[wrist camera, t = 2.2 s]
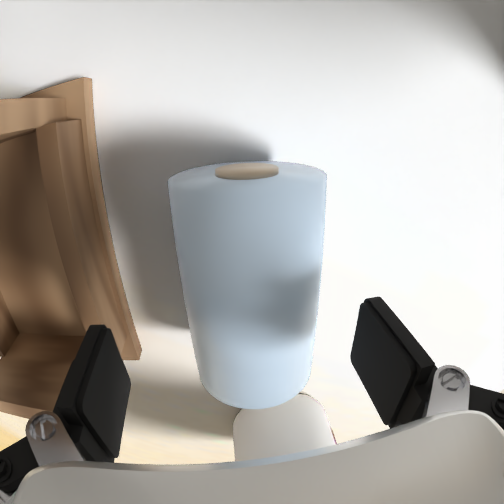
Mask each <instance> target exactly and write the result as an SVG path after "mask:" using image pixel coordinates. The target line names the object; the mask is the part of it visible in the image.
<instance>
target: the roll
mask: <svg viewBox="0 0 504 504" xmlns="http://www.w3.org/2000/svg"><path fill="white" fill-rule="evenodd" d="M326 181H327V174H326V173H325V172H324V171H322V170H320V169H318V168H315V167H312V166H308V165H303V164H297V163H289V162H277V161H246V162H229V163H219V164H212V165H206V166H201V167H196V168H192V169H189V170H185V171H182V172H180V173H177V174H175V175H173V176H172V177H170V178H169V179H168V189H169V198H170V206H171V215H172V222H173V230H174V237H175V244H176V251H177V258H178V264H179V271H180V277H181V283H182V289H183V295H184V301H185V306H186V312H187V317H188V322H189V328H190V333H191V338H192V343H193V348H194V353H195V357H196V362H197V367H198V371H199V376H200V380H201V382H202V384H203V386H204V387H205V389H206V390H207V391H208V392H209V393H210V394H211V395H212V396H213V397H214V398H216V399H217V400H219V401H221V402H223V403H225V404H227V405H230V406H233V407H237V408H242V409H264V408H270V407H274V406H277V405H280V404H282V403H285V402H287V401H288V400H290V399H292V398H293V397H295V396H296V395H297V394H298V393H299V392H300V391H301V390H302V389H303V388H304V387H305V385H306V384H307V382H308V380H309V377H310V373H311V365H312V358H313V350H314V342H315V333H316V324H317V315H318V305H319V294H320V283H321V271H322V258H323V243H324V227H325V207H326Z"/></svg>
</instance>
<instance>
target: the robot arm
mask: <svg viewBox="0 0 504 504" xmlns="http://www.w3.org/2000/svg"><path fill="white" fill-rule="evenodd" d="M351 362H352V364H353V366H354V368H355V370H356V372H357V374H358V375H359V377H360V379H361V381H362V383H363V385H364V387H365V389H366V390H367V392H368V394H369V396H370V398H371V400H372V402H373V404H374V406H375V408H376V409H377V411H378V413H379V415H380V417H381V419H382V421H383V423H384V424H385V425H389V427H390V429H388V430H385V431H382V432H378V433H375V434H372V435H368V436H365V437H362V438H358V439H355V440H351V441H347V442H343V443H339V444H335V445H331V446H327V447H322V448H318V449H313V450H308V451H303V452H298V453H293V454H287V455H281V456H275V457H268V458H261V459H253V460H245V461H235V462H223V463H209V464H185V465H153V464H125V463H114V458H117V457H118V456H119V451H120V444H121V438H122V431H123V425H124V419H125V414H126V408H127V403H128V398H129V392H130V387H131V382H130V378H129V375H128V373H127V370H126V368H125V365H124V363H123V360H122V358H121V355H120V352H119V350H118V347H117V344H116V342H115V339H114V336H113V333H112V331H111V329H110V328H107V327H106V325H104V324H100V325H90V326H89V328H88V330H87V332H86V334H85V337H84V339H83V341H82V343H81V346H80V348H79V350H78V352H77V355H76V357H75V359H74V360H73V361H72V363H71V365H70V368H69V370H68V373H67V375H66V378H65V380H64V383H63V385H62V388H61V390H60V393H59V396H58V398H57V401H56V404H55V406H54V409H53V412H50V411H41V412H38V413H36V414H35V415H33V416H32V417H31V418H30V419H29V420H28V423H27V425H26V430H25V431H26V437H24V438H23V439H21V440H19V441H18V442H16V443H14V444H12V445H11V446H9V447H7V448H6V449H4V450H2V451H0V504H504V394H502V393H498V392H494V391H491V390H487V389H483V388H480V387H476V386H473V385H470V380H469V377H468V375H467V374H466V373H465V371H464V370H462V369H461V368H459V367H456V366H452V365H446V366H442V367H440V368H437V367H436V366H435V363H434V362H433V360H432V359H431V358H430V357H429V355H428V354H427V353H426V352H425V350H424V349H423V348H422V346H421V345H420V344H419V343H418V342H417V340H416V339H415V338H414V337H413V335H412V334H411V333H410V332H409V330H408V329H407V328H406V327H405V326H404V324H403V323H402V322H401V321H400V320H399V318H398V317H397V316H396V315H395V314H394V312H393V311H392V310H391V309H390V308H389V306H388V305H387V304H386V303H385V302H384V301H383V299H382V298H381V297H374V298H368V299H365V301H364V303H362V304H361V305H360V309H359V315H358V321H357V326H356V331H355V336H354V341H353V346H352V351H351Z"/></svg>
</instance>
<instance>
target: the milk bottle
mask: <svg viewBox="0 0 504 504" xmlns="http://www.w3.org/2000/svg"><path fill="white" fill-rule="evenodd" d="M233 441H234V453H235V461H245V460H253V459H261V458H268V457H275V456H281V455H287V454H293V453H298V452H303V451H308V450H313V449H318V448H322V447H327V446H331V445H335V444H337V443H336V440H335V437H334V434H333V431H332V428H331V425H330V422H329V419H328V416H327V414H326V411H325V408H324V407H323V405H322V404H321V403H320V402H319V401H318V400H316V399H314V398H313V397H310V396H307V395H303V394H297V395H296V396H295V397H293V398H292V399H290V400H288V401H287V402H285V403H282V404H280V405H277V406H274V407H270V408H264V409H242V410H241V411H240V412H239V413H238V414H237V416H236V418H235V420H234V423H233Z"/></svg>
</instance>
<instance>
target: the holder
mask: <svg viewBox="0 0 504 504" xmlns="http://www.w3.org/2000/svg"><path fill="white" fill-rule="evenodd" d="M100 324H104V325H106V327H107V328H110V329H111V331H112V333H113V336H114V339H115V342H116V344H117V347H118V350H119V352H120V355H121V358H122V360H139V359H140V355H141V351H142V348H141V345H140V342H139V339H138V336H137V333H136V330H135V326H134V323H133V320H132V316H131V313H130V310H129V306H128V303H127V299H126V295H125V292H124V288H123V284H122V280H121V276H120V272H119V268H118V264H117V260H116V256H115V251H114V247H113V242H112V237H111V233H110V228H109V223H108V217H107V212H106V207H105V201H104V195H103V189H102V182H101V175H100V168H99V161H98V153H97V144H96V134H95V123H94V110H93V94H92V79H90V78H86V77H82V78H78V79H75V80H71V81H68V82H65V83H61V84H58V85H55V86H52V87H49V88H46V89H43V90H40V91H37V92H34V93H31V94H29V95H26V96H23V97H21V98H17V99H0V356H1V359H0V411H1V412H4V413H8V414H12V415H16V416H20V417H24V418H28V419H30V418H31V417H32V416H33V415H35V414H36V413H38V412H41V411H50V412H53V409H54V406H55V404H56V401H57V398H58V396H59V393H60V390H61V388H62V385H63V383H64V380H65V378H66V375H67V373H68V370H69V368H70V365H71V363H72V361H73V360H74V359H75V357H76V355H77V352H78V350H79V348H80V346H81V343H82V341H83V339H84V337H85V334H86V332H87V330H88V328H89V326H90V325H100Z"/></svg>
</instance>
